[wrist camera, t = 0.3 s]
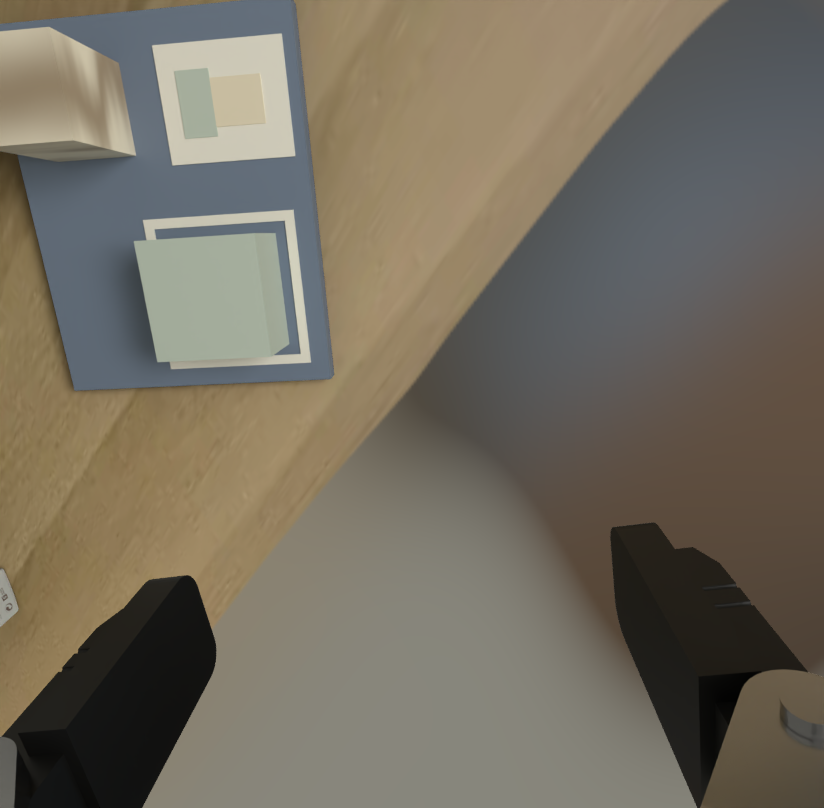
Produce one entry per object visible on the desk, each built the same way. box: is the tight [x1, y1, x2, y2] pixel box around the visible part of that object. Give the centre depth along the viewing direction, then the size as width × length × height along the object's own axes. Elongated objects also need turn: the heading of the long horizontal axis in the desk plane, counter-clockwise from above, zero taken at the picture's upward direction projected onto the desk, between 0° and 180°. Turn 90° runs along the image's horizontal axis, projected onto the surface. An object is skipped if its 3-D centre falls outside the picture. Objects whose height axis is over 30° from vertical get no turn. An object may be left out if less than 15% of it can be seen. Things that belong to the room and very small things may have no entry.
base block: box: [134, 233, 289, 362], centre depth 34 cm, size 7×7×4 cm
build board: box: [0, 0, 334, 391], centre depth 35 cm, size 22×18×1 cm
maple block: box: [0, 27, 136, 162], centre depth 31 cm, size 5×5×6 cm
